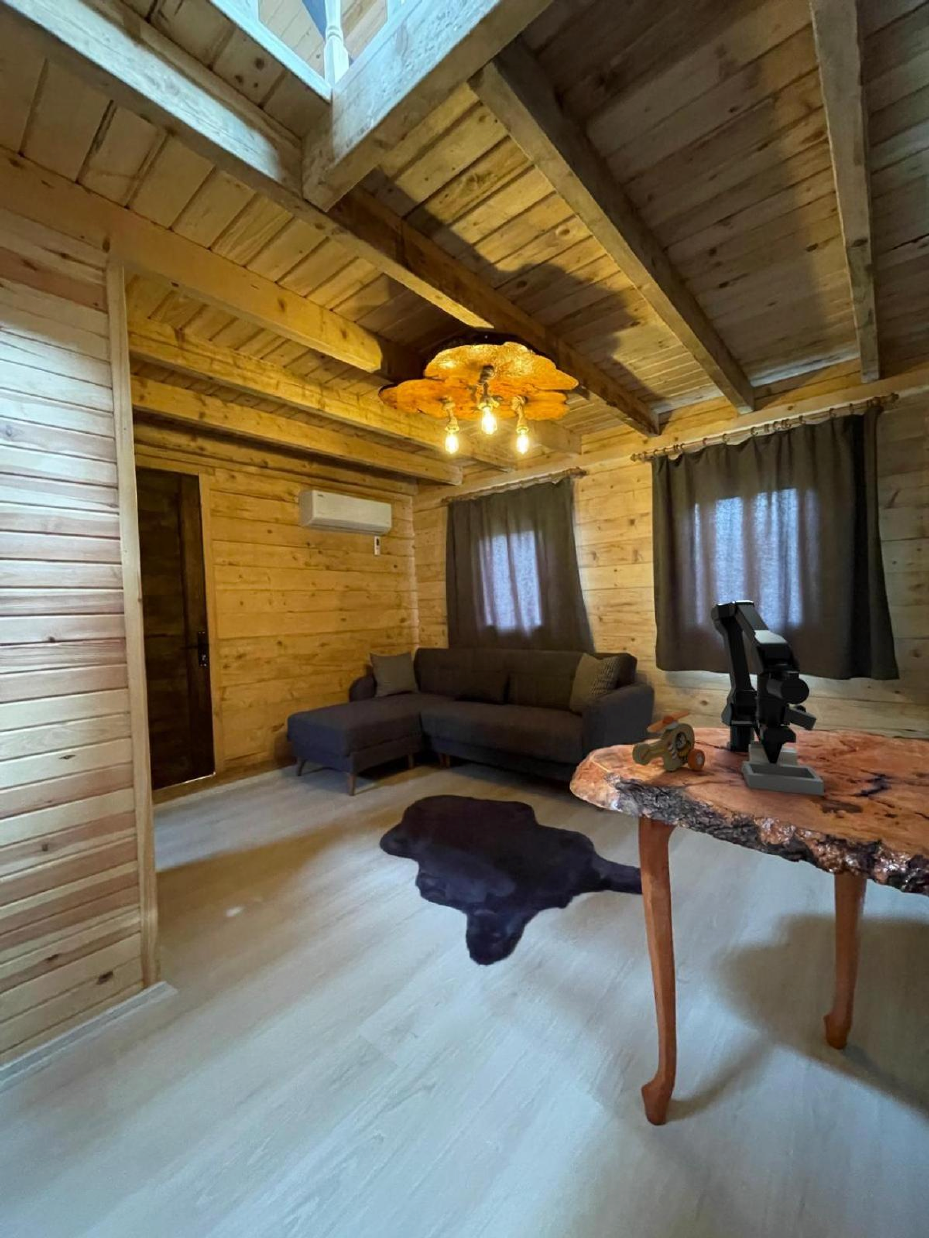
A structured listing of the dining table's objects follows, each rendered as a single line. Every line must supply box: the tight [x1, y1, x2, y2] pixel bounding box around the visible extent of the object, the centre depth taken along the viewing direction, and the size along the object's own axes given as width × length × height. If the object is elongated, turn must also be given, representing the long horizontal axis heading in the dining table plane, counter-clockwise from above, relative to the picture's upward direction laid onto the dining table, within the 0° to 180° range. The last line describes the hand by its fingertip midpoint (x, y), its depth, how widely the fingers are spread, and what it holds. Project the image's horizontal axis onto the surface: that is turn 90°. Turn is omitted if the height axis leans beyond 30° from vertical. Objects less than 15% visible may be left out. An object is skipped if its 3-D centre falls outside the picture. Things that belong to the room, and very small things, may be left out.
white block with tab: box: [748, 740, 798, 766], centre depth 116 cm, size 4×9×6 cm, turn 68°
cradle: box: [742, 760, 824, 796], centre depth 107 cm, size 9×13×3 cm
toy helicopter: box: [631, 709, 706, 772], centre depth 115 cm, size 8×21×14 cm, turn 123°
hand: (771, 762), depth 116 cm, fingers closed on white block with tab, 4 cm apart
